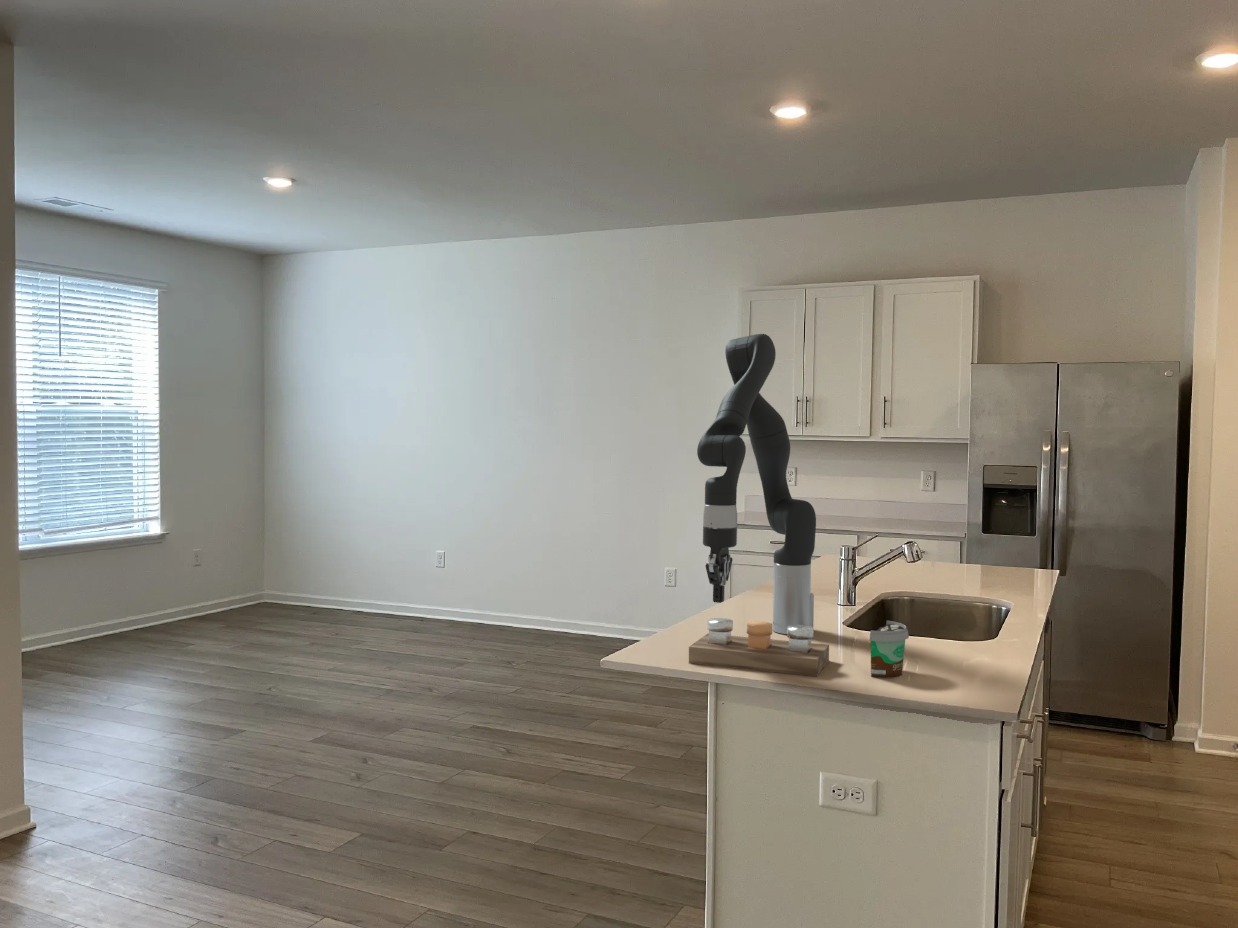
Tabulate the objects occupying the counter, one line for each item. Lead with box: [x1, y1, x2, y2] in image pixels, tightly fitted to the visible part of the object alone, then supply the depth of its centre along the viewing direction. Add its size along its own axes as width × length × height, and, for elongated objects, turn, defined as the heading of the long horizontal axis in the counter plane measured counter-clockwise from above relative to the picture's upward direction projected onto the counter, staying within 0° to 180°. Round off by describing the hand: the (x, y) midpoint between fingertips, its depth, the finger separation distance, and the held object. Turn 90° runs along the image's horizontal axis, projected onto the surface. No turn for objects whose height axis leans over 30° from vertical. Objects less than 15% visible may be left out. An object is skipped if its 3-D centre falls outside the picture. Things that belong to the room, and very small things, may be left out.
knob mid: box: [746, 620, 773, 649], centre depth 215 cm, size 6×6×5 cm
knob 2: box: [786, 625, 814, 653], centre depth 212 cm, size 6×6×5 cm
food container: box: [869, 620, 910, 679], centre depth 206 cm, size 12×6×10 cm, turn 148°
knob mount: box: [688, 632, 830, 677], centre depth 215 cm, size 14×28×4 cm, turn 68°
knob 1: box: [707, 617, 734, 645], centre depth 218 cm, size 6×6×5 cm
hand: (718, 601), depth 218 cm, fingers closed
